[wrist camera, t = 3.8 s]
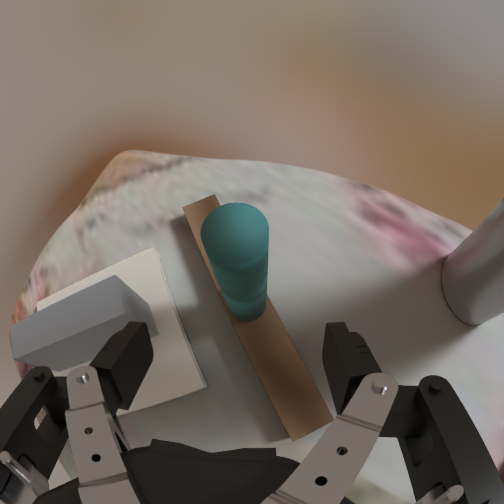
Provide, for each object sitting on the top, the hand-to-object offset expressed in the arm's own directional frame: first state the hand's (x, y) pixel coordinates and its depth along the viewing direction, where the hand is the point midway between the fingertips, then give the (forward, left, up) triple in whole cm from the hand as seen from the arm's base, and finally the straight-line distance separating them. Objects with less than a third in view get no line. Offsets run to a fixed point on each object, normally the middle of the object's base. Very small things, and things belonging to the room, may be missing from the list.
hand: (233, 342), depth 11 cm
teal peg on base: (-2, -4, -12) cm, 13 cm away
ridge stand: (+12, -6, -12) cm, 18 cm away
